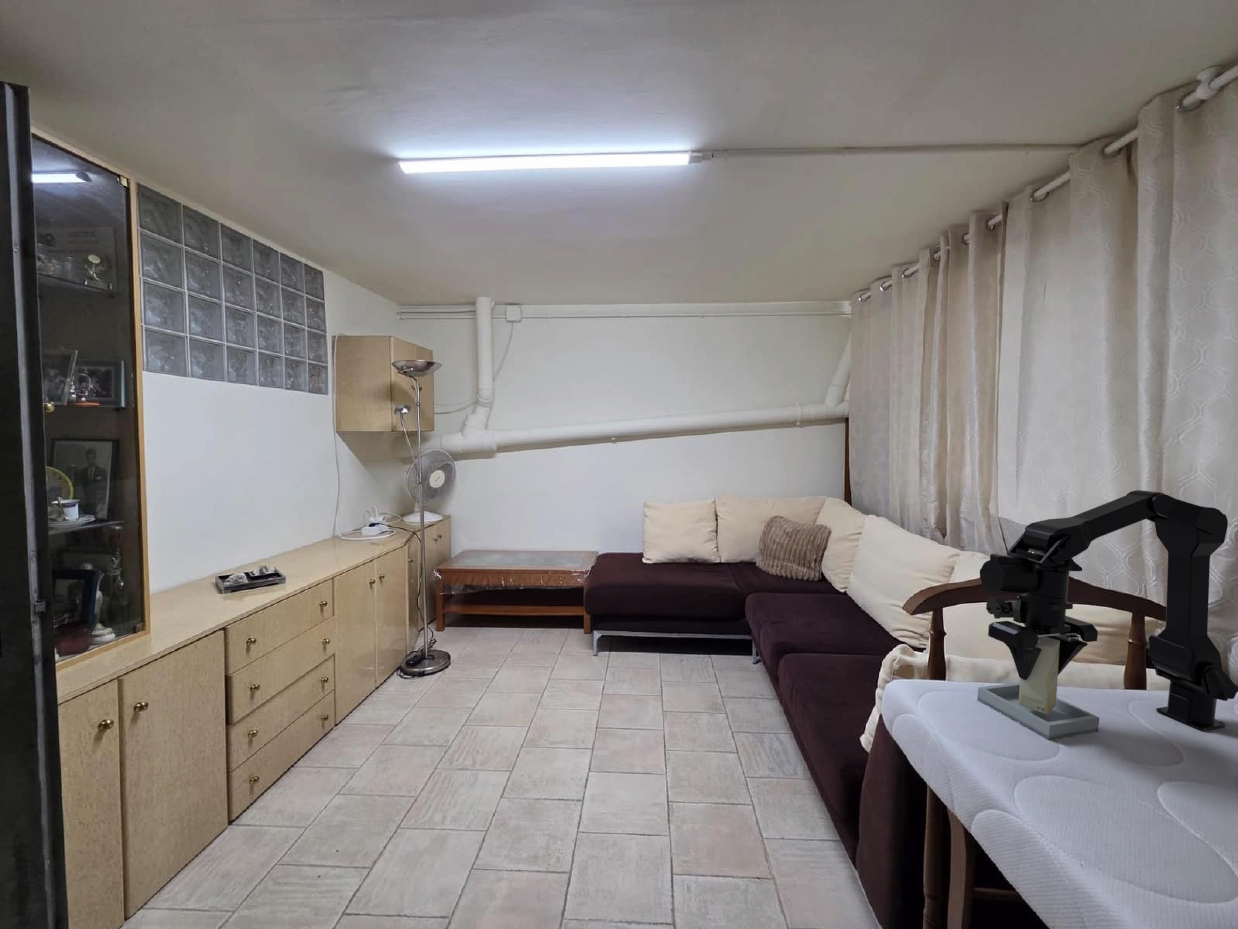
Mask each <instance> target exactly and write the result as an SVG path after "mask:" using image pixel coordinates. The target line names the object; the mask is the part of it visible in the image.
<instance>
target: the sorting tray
mask: <svg viewBox="0 0 1238 929" xmlns="http://www.w3.org/2000/svg"><path fill="white" fill-rule="evenodd" d="M1019 692H1020V682H1019V681H1018V682H1011V683H1004V684H996V685H988V686H980V687H978V688H977V698H976V699H977V701H978V700H979V701H978V702H980V703H982V702H983V703H984V705H985V706H987V705H988V707H989V708H991V709H992V708H994V709H995V710H994V709H993V710H994V711H996V710H997V711H996V712H998V713H1000V712H1001V713H1002V714H1001V713H1000V714H1001V715H1003V714H1004V715H1003V716H1005V715H1006V716H1005V717H1007V716H1008V717H1009V718H1008V717H1007V718H1008V719H1010V718H1011V719H1010V720H1012V719H1014V720H1015V721H1014V720H1013V721H1014V722H1015V723H1017V722H1019V723H1020V724H1019V723H1018V724H1019V725H1021V724H1022V725H1021V726H1023V727H1024V728H1026V727H1027V728H1026V729H1029V730H1030V731H1032V732H1034V733H1035V732H1036V733H1035V734H1036V735H1039V736H1040V737H1042V736H1043V737H1042V738H1044V737H1045V738H1044V739H1046V740H1048V739H1050V740H1055V739H1061V738H1066V737H1074V736H1078V735H1079V736H1081V735H1084V734H1085V735H1086V734H1091V733H1098V732H1099V729H1100V728H1099V726H1100V717H1099V716H1097V715H1094V714H1093V713H1090V712H1088V711H1086V710H1084V709H1082V708H1080V707H1078V706H1076V705H1074V704H1071V703H1070V702H1068V701H1066V700H1064V699H1061V698H1059V697H1057V696H1056V705H1055V706H1054V708H1053V709H1052V711H1051V712H1050V713H1049V714H1048V715H1047V714H1044V713H1041V712H1038V711H1035V710H1032V709H1029V708H1026V707H1024V706H1021V705H1019ZM983 703H982V704H983Z"/></svg>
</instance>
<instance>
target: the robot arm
mask: <svg viewBox="0 0 1238 929" xmlns="http://www.w3.org/2000/svg"><path fill="white" fill-rule="evenodd" d="M1144 520H1147V521H1149V522H1152V523H1154V526H1155V535H1156V537H1157V538H1158V540H1159V541H1160V542H1161V544H1162V545H1163V547H1164V548H1165V549H1166V551H1167V572H1166V573H1167V574H1166V575H1167V576H1166V578H1167V581H1166V610H1165V612H1166V613H1165V628H1164V629H1163V630H1162V631H1161V632H1159V633H1158V634H1157V635H1156V634H1155V635H1153V634H1150V636H1149V637H1148V646H1149V647H1148V651H1147V656H1149V657H1150V661H1151V664H1152V665H1153V667H1154V670H1155V675H1156V676H1159V677H1162V678H1164V679H1166V680H1167V681H1169V690H1168V696H1167V698H1168V699H1167V706H1162V707H1156V708H1155V711H1156V712H1158V713H1160V714H1162V715H1164V716H1167V717H1169V718H1172V719H1175V720H1176V721H1179V722H1181V723H1183V724H1185V725H1188V726H1189V727H1190V726H1191V727H1193V728H1195V729H1197V730H1199V731H1200V730H1201V731H1209V730H1214V729H1220V728H1225V727H1226V723H1225V722H1223V721H1220V720H1218V719H1216V710H1217V709H1216V708H1217V702H1218V700H1220V701H1222V702H1223V701H1224V702H1228V700H1234V699H1235V697H1236V695H1237V692H1238V685H1236V684H1235V682H1234V681H1232V679H1231V678H1230V677H1229V676H1228V675H1227V674H1226V672H1225V671H1224V670H1223V664H1222V658H1221V652H1220V651H1219V650H1218V649H1217V646H1216V645H1215V644H1214V643H1213V641H1212V640H1211V638H1210V637H1209V635H1208V623H1209V601H1210V600H1209V596H1210V595H1209V594H1210V571H1211V570H1210V568H1211V567H1210V565H1211V556H1212V555H1213V554H1214V553H1215V552H1216V551H1217V550H1218V549H1219V548H1220V547H1221V546H1222V545H1223V544H1224V543H1225V542H1226V541H1225V540H1226V535H1227V530H1228V526H1229V520H1228V517H1227V515H1226V514H1225V513H1224V512H1222V511H1221V510H1220V509H1218V508H1216V507H1209V506H1202V505H1199V504H1195V503H1191V502H1188V501H1185V500H1182V499H1179V498H1175V497H1173V496H1170V495H1168V494H1165V493H1164V492H1159V491H1150V490H1149V491H1148V490H1142V489H1140V490H1139V489H1137V490H1132V491H1130V492H1128V493H1127V494H1126V495H1124V496H1120V497H1118V498H1116V499H1113V500H1110V501H1109V502H1106V503H1104V504H1101V505H1098V506H1096V507H1094V508H1091V509H1089V510H1086V511H1083V512H1080V513H1078V514H1075V515H1073V516H1067V517H1063V518H1062V517H1061V518H1059V517H1058V518H1049V519H1044V520H1039V521H1034V522H1031V523H1029V524H1027V525H1026V527H1025V528H1024V531H1023V533H1022V534H1021V535H1020V537H1018V539H1017V540H1016V541H1015V542H1014V544H1013V545H1012V546H1011V547H1010V548H1009V549H1008V551H1007V552H1006V554H1005V555H1004V554H998V553H991V554H990V556H989V560H986V561H984V563H983V564H982V566H981V568H980V569H979V579H980V581H981V584H982V586H983V588H985V590H987V591H988V592H990V593H995V594H996V593H997V594H998V593H1002V594H1018V595H1017V597H1016V600H1004V599H1003V597H1001V596H996V597H995V596H990V597H987V600H986V603H985V604H986V605H985V606H986V607H985V609H986V611H987V613H988V614H990V615H993V618H994V619H995V620H996V619H1001V618H1003V619H1004V618H1007V619H1008V618H1009V619H1010V618H1011V619H1012V621H1013V622H1012V621H1009V620H1002V621H993V622H991V623H989V624H988V629H987V630H988V631H987V636H988V637H990V638H992V639H995V640H996V641H999V642H1002V643H1003V644H1005V646H1006V647H1007V648H1008V649H1009V651H1010V653H1011V656H1012V659H1013V662H1014V664H1015V668H1016V670H1017V674H1018V677H1019V679H1020V678H1021V679H1023V680H1027V679H1028V677H1029V676H1030V674H1031V672H1032V670H1033V667H1034V665H1035V663H1036V661H1037V659H1038V657H1039V654H1040V652H1041V650H1042V649H1040V648H1038V647H1035V646H1036V645H1037V644H1038V637H1048V638H1052V639H1056V640H1059V641H1060V648H1059V664H1058V676H1059V675H1060V673H1062V672H1063V670H1064V669H1066V667H1067V666H1068V665H1069V664H1070V662H1072V660H1073V659H1074V658H1075V657H1076V656H1077V655H1078V654H1079V653H1080V652H1081V651H1082V650H1083V649H1084V648H1085V647H1087V646H1088V645H1089V644H1088V643H1092V642H1097V641H1098V635H1099V634H1098V633H1099V631H1098V629H1097V628H1096V627H1095V626H1094V624H1092V623H1089V622H1086V621H1083V620H1080V619H1078V618H1074V617H1071V616H1069V615H1066V612H1067V610H1073V609H1074V602H1073V603H1072V602H1070V601H1068V590H1069V580H1070V572H1082V571H1083V568H1082V566H1081V565H1079V564H1078V563H1076V561H1075V560H1074V558H1075V557H1077V556H1078V555H1081V554H1082V553H1083V552H1085V551H1087V550H1088V549H1089V547H1090V546H1091V543H1092V542H1093V541H1095V540H1096V539H1099V538H1100V537H1103V536H1107V535H1110V534H1112V533H1115V532H1116V531H1119V530H1122V529H1124V528H1126V527H1130V526H1131V525H1134V524H1137V523H1139V522H1141V521H1144ZM1021 624H1023V625H1024V626H1023V625H1021Z"/></svg>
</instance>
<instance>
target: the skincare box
mask: <svg viewBox="0 0 1238 929" xmlns="http://www.w3.org/2000/svg"><path fill="white" fill-rule="evenodd" d="M1035 647H1038V648H1040V649H1042V650H1041V652H1040V654H1039V657H1038V659H1037V661H1036V663H1035V665H1034V667H1033V670H1032V672H1031V674H1030V676H1029V677H1028V679H1027V680H1023V679H1021V678H1020V677H1019V679H1020V680H1019V681H1020V692H1019V705H1021V706H1024V707H1026V708H1029V709H1032V710H1035V711H1038V712H1041V713H1044V714H1047V715H1048V714H1049V713H1050V712H1051V711H1052V709H1053V708H1054V706H1055V705H1056V697H1057V695H1058V694H1057V693H1058V692H1057V691H1058V677H1059V675H1058V664H1059V648H1060V641H1059V640H1056V639H1052V638H1048V637H1038V644H1037V645H1036V646H1035Z"/></svg>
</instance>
